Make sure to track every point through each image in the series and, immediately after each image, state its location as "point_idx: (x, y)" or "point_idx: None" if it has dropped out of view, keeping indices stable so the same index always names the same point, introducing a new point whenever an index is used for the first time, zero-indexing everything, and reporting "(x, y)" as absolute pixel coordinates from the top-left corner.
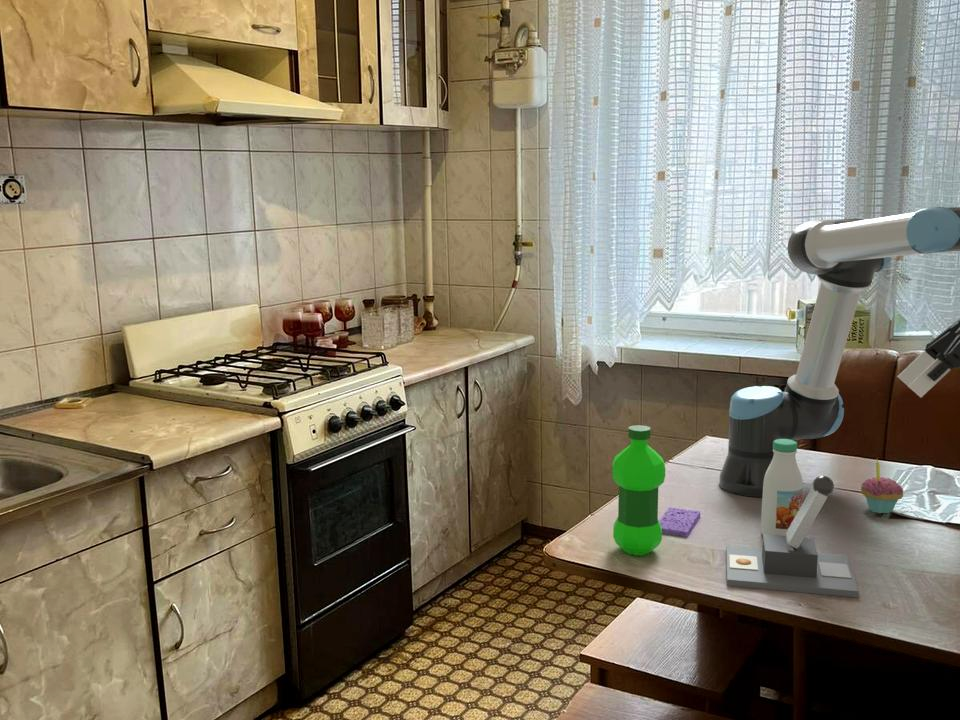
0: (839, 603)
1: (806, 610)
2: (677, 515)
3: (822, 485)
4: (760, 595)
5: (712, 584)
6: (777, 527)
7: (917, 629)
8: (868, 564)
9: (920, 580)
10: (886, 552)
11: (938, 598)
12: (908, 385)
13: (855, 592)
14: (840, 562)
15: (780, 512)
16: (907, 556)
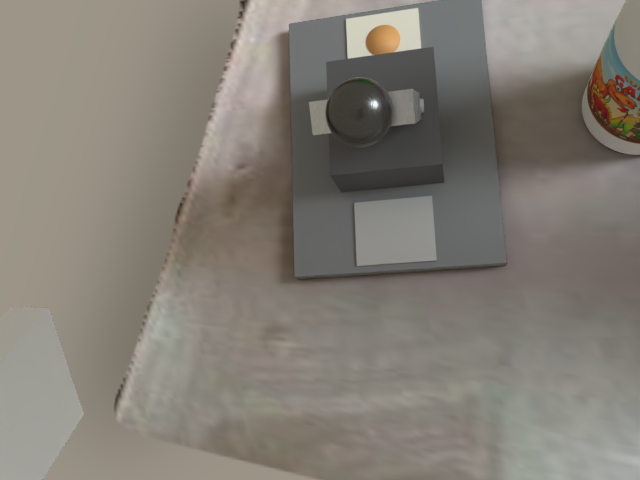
0: (263, 241)
1: (218, 179)
2: None
3: (326, 105)
4: (264, 94)
5: (292, 5)
6: (588, 85)
7: (182, 380)
8: (498, 319)
9: (432, 433)
10: (603, 375)
11: (338, 455)
12: (45, 313)
13: (295, 271)
14: (450, 247)
15: (597, 70)
16: (591, 428)
